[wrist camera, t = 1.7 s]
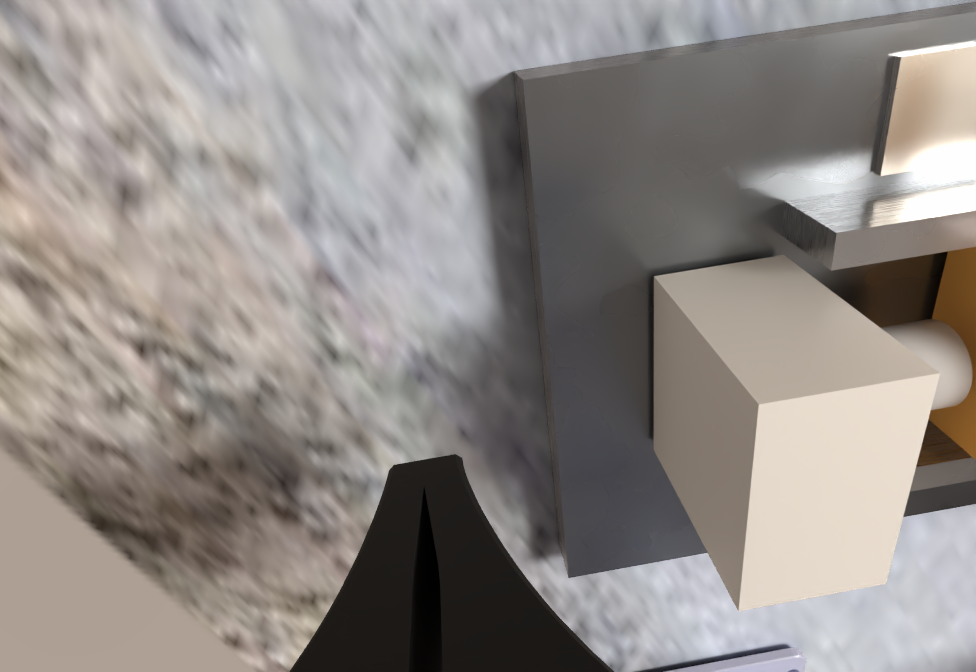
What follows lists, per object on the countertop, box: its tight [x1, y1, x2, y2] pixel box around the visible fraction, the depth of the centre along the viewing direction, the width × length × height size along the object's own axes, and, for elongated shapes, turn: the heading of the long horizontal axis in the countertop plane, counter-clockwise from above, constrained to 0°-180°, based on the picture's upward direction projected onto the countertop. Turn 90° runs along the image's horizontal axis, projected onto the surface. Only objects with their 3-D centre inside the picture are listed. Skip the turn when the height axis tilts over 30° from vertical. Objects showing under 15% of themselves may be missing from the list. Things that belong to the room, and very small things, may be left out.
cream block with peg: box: [654, 255, 972, 611], centre depth 14 cm, size 6×5×5 cm
